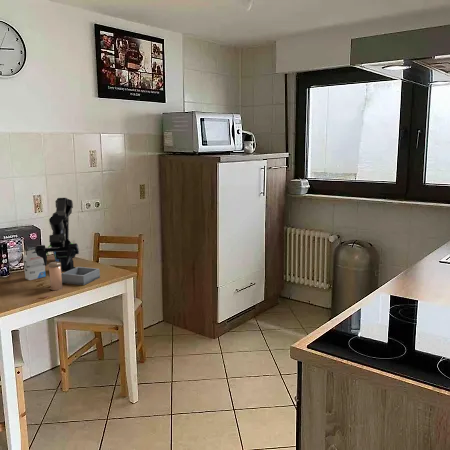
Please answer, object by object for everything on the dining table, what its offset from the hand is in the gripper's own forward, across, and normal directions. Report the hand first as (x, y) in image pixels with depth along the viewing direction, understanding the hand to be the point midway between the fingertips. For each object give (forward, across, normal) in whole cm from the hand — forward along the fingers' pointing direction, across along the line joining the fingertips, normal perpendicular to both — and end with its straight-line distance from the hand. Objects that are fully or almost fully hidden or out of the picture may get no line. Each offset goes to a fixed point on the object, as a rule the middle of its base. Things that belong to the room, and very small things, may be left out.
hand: (56, 265), depth 208 cm
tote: (+2, +9, +13) cm, 16 cm away
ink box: (-5, -14, +20) cm, 24 cm away
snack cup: (-28, -6, +42) cm, 50 cm away
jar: (+9, 0, +5) cm, 11 cm away
